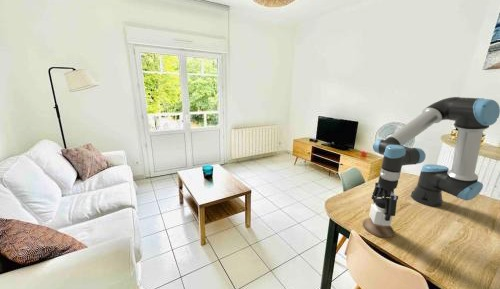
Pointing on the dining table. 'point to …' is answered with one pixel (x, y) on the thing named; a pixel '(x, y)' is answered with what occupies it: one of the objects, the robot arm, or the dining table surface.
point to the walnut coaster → (377, 229)
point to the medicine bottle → (378, 211)
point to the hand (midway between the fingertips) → (379, 219)
